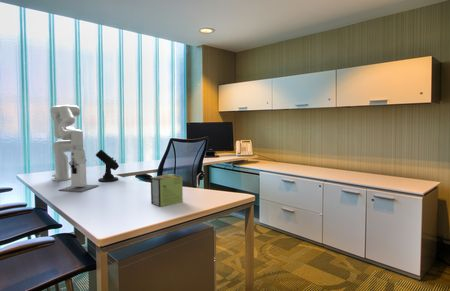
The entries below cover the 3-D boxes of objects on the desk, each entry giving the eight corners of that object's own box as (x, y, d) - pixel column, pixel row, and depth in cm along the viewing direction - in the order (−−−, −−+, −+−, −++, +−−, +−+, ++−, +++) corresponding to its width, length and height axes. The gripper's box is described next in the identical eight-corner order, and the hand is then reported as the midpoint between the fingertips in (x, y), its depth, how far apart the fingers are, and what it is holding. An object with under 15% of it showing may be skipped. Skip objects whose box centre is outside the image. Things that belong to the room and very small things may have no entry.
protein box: (183, 201, 176) (182, 175, 174) (160, 207, 165) (159, 179, 164) (172, 198, 183) (172, 173, 182) (150, 203, 172) (150, 177, 171)
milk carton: (86, 184, 213) (85, 158, 211) (81, 186, 206) (79, 159, 204) (77, 184, 214) (76, 158, 212) (71, 186, 207) (70, 159, 205)
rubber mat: (58, 190, 203) (58, 189, 203) (77, 185, 220) (76, 184, 220) (81, 192, 199) (81, 191, 199) (98, 186, 217) (98, 185, 217)
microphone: (96, 179, 242) (95, 149, 239) (118, 177, 249) (117, 148, 247) (96, 183, 228) (95, 150, 226) (120, 181, 235) (119, 149, 233)
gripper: (73, 149, 198) (74, 175, 200) (90, 146, 215) (91, 170, 217) (63, 148, 200) (64, 174, 201) (81, 146, 217) (82, 170, 218)
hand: (78, 172), depth 209 cm, fingers closed on milk carton, 7 cm apart
